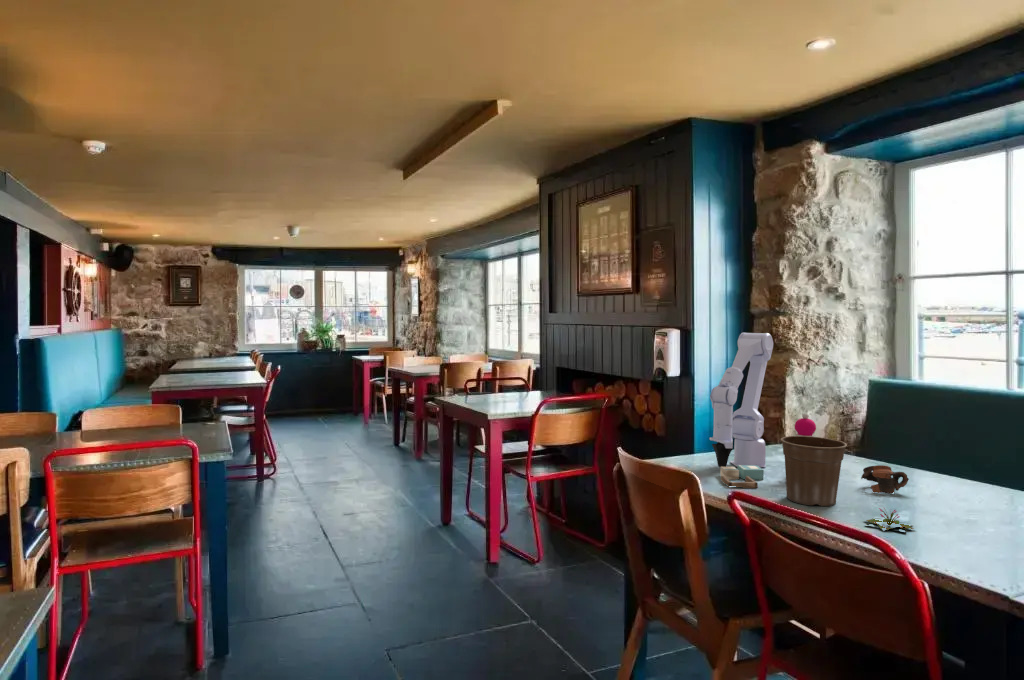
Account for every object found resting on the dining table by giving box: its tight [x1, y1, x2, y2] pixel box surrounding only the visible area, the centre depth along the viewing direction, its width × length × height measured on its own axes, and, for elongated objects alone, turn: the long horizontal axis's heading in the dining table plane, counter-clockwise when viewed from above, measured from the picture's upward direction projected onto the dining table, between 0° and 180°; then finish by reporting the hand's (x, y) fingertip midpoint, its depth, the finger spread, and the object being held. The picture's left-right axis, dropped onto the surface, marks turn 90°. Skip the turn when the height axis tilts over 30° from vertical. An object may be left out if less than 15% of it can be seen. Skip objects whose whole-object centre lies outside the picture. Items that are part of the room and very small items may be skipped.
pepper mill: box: [794, 412, 817, 437], centre depth 210 cm, size 7×7×20 cm
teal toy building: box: [736, 465, 765, 481], centre depth 211 cm, size 6×6×3 cm
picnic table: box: [720, 476, 759, 489], centre depth 202 cm, size 8×8×2 cm
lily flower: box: [865, 507, 914, 531], centre depth 163 cm, size 12×12×5 cm
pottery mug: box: [860, 464, 909, 494], centre depth 197 cm, size 12×10×8 cm
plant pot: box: [780, 435, 848, 507], centre depth 185 cm, size 16×16×16 cm
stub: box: [719, 466, 740, 480], centre depth 211 cm, size 4×5×3 cm
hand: (722, 466), depth 219 cm, fingers closed
